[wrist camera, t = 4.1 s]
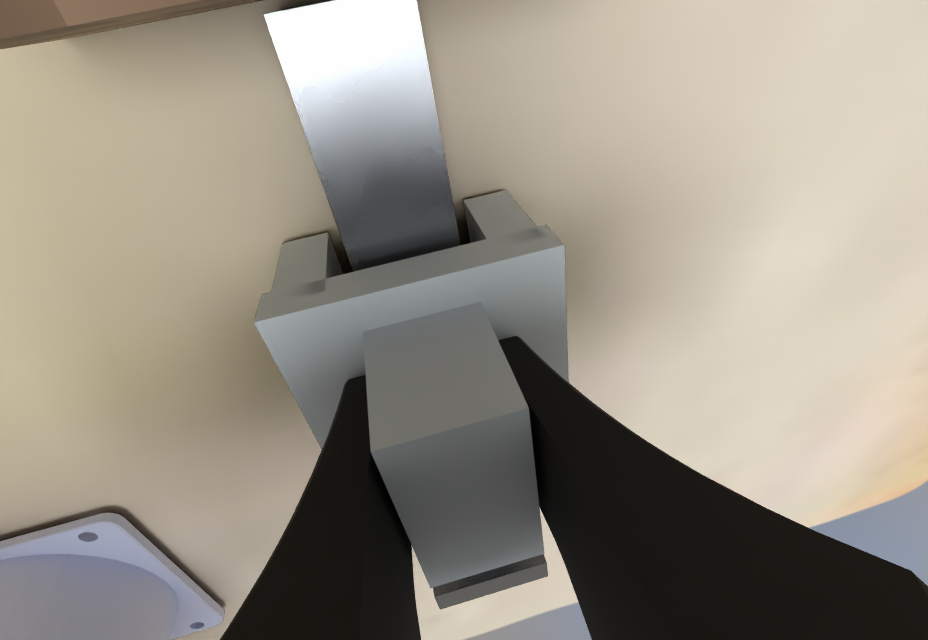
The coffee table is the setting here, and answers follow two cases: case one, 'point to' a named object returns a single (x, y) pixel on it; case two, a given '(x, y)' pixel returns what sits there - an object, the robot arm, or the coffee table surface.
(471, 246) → the carriage
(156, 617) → the robot arm
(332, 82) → the rail
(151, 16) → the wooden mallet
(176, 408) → the coffee table surface
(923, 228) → the coffee table surface
